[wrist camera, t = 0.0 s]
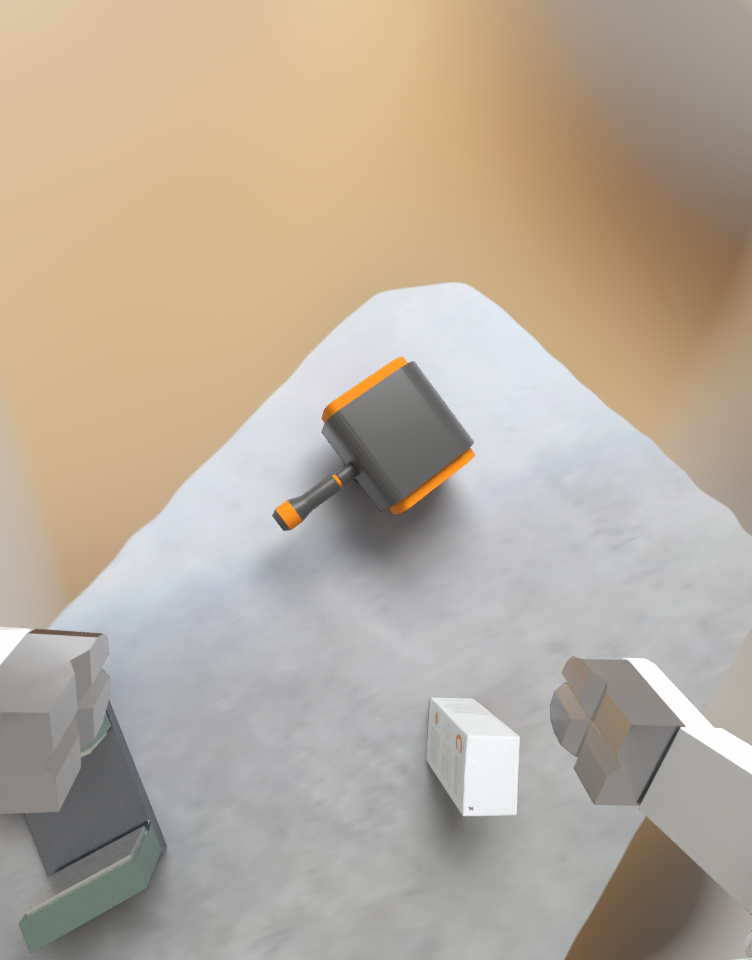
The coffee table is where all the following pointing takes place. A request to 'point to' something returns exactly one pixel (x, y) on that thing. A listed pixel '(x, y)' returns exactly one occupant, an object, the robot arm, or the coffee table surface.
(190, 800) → the coffee table surface
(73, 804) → the vise
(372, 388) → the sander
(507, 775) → the small box
